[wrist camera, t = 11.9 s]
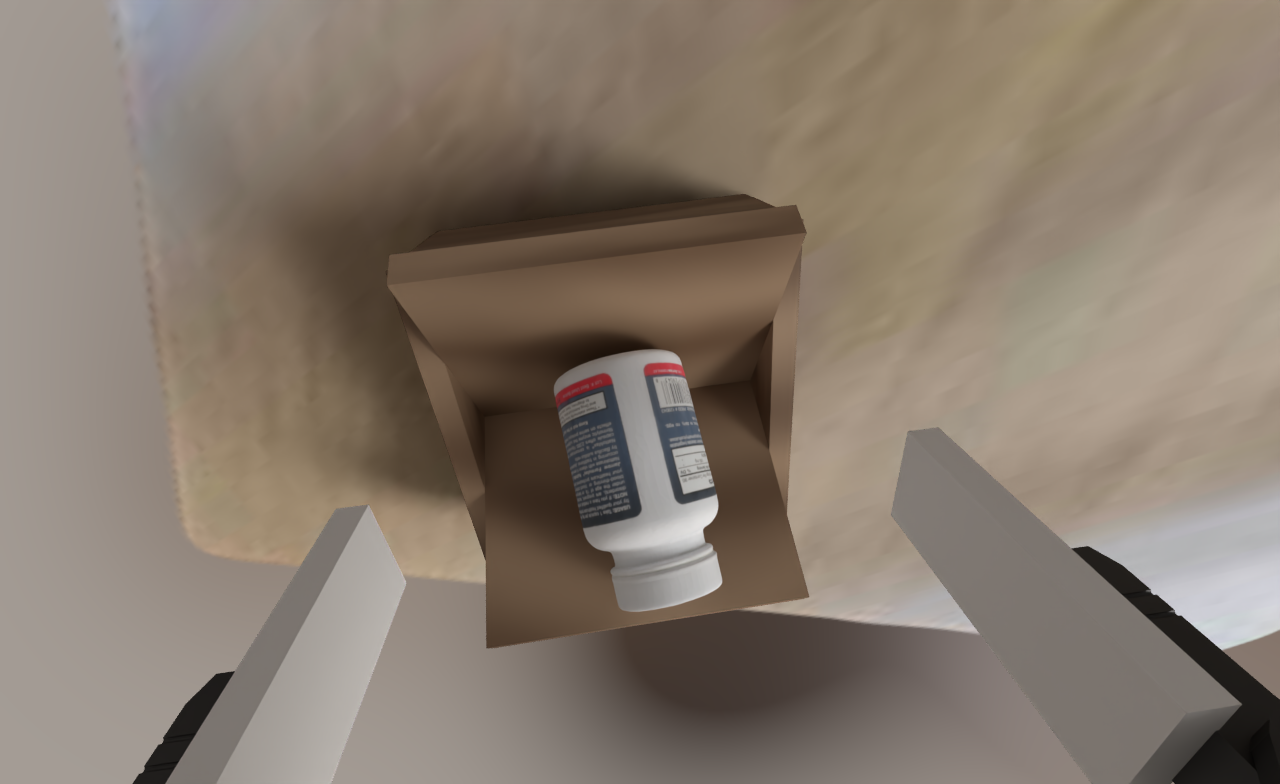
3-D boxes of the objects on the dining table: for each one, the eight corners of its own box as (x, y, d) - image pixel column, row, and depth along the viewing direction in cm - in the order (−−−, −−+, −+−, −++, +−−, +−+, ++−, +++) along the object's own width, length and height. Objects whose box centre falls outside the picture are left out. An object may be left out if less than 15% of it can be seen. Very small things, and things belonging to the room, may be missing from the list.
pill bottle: (554, 396, 23) (596, 602, 21) (547, 363, 18) (602, 631, 16) (668, 373, 23) (717, 569, 22) (692, 336, 18) (759, 586, 17)
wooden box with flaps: (423, 216, 22) (304, 292, 13) (753, 176, 23) (881, 219, 13) (508, 505, 31) (475, 686, 21) (750, 469, 31) (828, 629, 22)
